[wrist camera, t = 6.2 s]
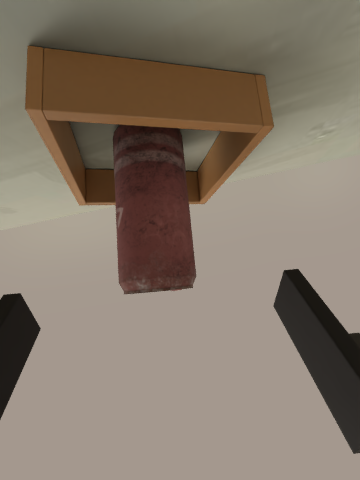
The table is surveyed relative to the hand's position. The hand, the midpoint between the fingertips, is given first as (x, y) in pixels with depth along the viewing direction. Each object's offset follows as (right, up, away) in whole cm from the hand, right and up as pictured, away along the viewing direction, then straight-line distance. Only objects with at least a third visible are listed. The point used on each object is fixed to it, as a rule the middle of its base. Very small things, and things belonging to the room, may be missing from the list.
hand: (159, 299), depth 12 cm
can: (-2, +13, +9) cm, 16 cm away
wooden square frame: (-2, +13, +9) cm, 16 cm away
